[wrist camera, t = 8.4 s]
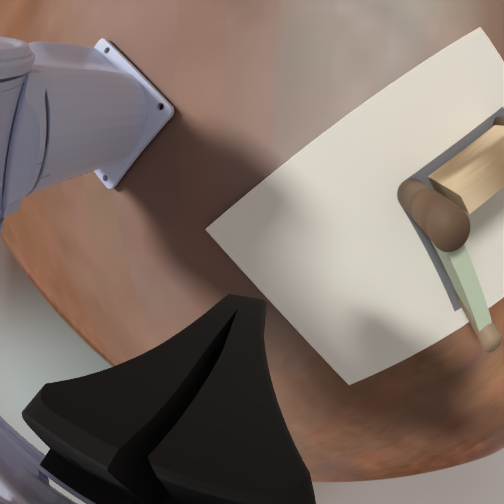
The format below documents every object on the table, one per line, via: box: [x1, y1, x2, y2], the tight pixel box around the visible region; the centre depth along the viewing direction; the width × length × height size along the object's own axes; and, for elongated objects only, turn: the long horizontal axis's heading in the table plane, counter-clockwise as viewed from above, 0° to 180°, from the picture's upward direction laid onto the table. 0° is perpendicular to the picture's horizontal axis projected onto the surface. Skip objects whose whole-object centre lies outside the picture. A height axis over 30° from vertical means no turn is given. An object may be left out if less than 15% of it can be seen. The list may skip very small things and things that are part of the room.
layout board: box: [205, 27, 504, 385], centre depth 16 cm, size 18×24×1 cm
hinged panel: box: [431, 241, 502, 352], centre depth 13 cm, size 8×1×6 cm, turn 43°
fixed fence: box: [397, 117, 504, 252], centre depth 11 cm, size 10×2×6 cm, turn 132°
